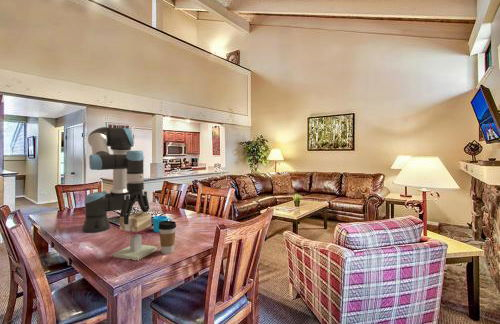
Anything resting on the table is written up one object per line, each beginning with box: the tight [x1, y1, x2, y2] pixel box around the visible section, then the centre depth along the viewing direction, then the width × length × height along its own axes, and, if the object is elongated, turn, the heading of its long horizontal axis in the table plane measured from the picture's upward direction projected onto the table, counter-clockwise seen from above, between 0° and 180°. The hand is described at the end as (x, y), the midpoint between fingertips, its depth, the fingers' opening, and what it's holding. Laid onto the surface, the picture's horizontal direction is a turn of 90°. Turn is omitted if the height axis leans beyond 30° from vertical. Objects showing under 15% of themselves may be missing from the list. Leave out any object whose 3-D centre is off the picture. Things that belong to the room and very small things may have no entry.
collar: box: [119, 212, 152, 233], centre depth 126 cm, size 10×10×6 cm
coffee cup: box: [158, 220, 177, 255], centre depth 129 cm, size 8×8×15 cm
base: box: [113, 233, 158, 261], centre depth 127 cm, size 14×14×8 cm
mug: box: [152, 215, 173, 233], centre depth 164 cm, size 12×8×8 cm
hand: (135, 227), depth 126 cm, fingers closed on collar, 10 cm apart
